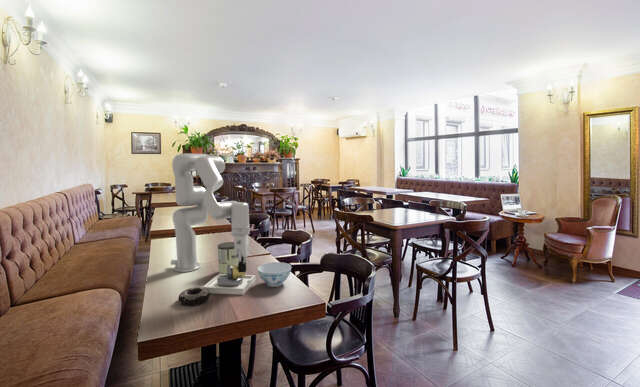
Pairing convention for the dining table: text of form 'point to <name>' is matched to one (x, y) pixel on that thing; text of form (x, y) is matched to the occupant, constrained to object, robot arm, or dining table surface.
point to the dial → (231, 277)
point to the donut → (193, 296)
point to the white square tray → (239, 289)
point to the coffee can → (226, 256)
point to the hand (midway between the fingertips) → (242, 271)
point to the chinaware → (274, 273)
